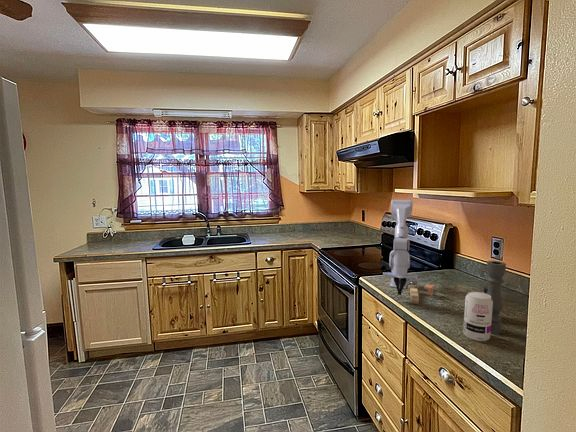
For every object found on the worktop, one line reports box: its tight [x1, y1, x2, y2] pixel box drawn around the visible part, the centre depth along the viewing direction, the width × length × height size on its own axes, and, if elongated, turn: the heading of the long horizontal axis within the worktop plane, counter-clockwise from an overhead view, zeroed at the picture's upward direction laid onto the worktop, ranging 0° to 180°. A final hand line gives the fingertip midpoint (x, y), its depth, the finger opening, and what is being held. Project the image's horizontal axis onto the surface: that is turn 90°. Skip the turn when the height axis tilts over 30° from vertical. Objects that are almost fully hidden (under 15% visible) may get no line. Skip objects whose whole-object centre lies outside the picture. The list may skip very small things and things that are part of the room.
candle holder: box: [485, 260, 507, 335], centre depth 116 cm, size 6×6×25 cm
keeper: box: [423, 283, 435, 296], centre depth 151 cm, size 3×6×5 cm, turn 142°
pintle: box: [409, 280, 418, 288], centre depth 154 cm, size 3×3×6 cm
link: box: [407, 284, 420, 305], centre depth 149 cm, size 16×5×3 cm, turn 162°
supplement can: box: [462, 291, 493, 342], centre depth 112 cm, size 8×8×15 cm
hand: (399, 294), depth 145 cm, fingers closed
